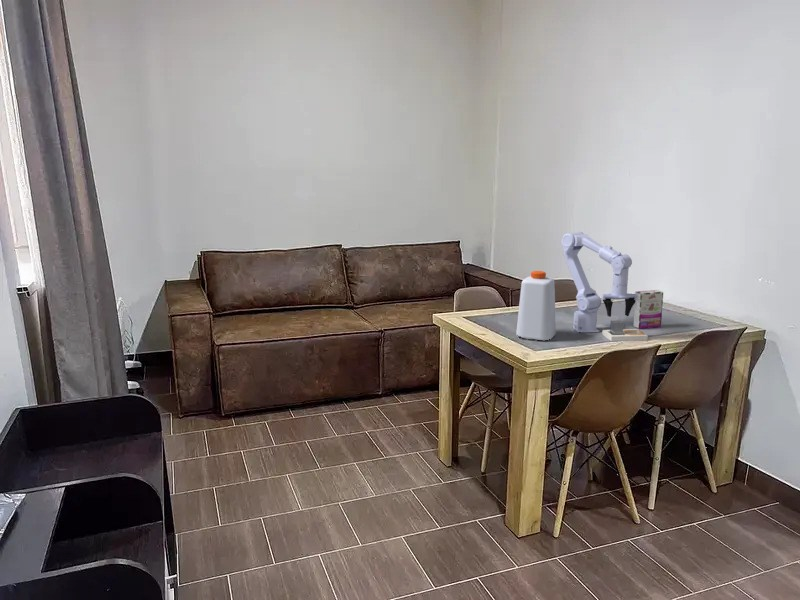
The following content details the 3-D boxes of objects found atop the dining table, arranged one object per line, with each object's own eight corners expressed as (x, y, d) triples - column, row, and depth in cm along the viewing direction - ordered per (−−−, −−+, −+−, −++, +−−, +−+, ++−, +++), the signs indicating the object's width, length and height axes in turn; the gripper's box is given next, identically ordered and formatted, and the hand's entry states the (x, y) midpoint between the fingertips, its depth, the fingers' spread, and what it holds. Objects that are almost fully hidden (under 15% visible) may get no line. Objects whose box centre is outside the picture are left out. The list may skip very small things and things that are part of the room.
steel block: (613, 339, 252) (614, 323, 251) (609, 336, 256) (610, 320, 255) (622, 338, 252) (623, 322, 251) (618, 336, 256) (619, 320, 255)
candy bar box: (654, 324, 273) (657, 289, 269) (661, 327, 268) (664, 291, 265) (632, 326, 271) (634, 290, 267) (638, 329, 266) (641, 293, 263)
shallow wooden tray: (611, 341, 249) (611, 336, 249) (602, 334, 259) (602, 329, 258) (647, 340, 250) (648, 335, 249) (637, 333, 260) (637, 328, 259)
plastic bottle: (549, 343, 248) (552, 276, 242) (513, 338, 255) (515, 273, 248) (557, 333, 261) (560, 270, 255) (523, 329, 268) (525, 267, 261)
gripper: (606, 286, 245) (604, 318, 248) (641, 285, 246) (639, 317, 249) (600, 283, 252) (598, 314, 255) (634, 282, 252) (631, 313, 255)
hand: (618, 315), depth 252 cm, fingers open, 7 cm apart
